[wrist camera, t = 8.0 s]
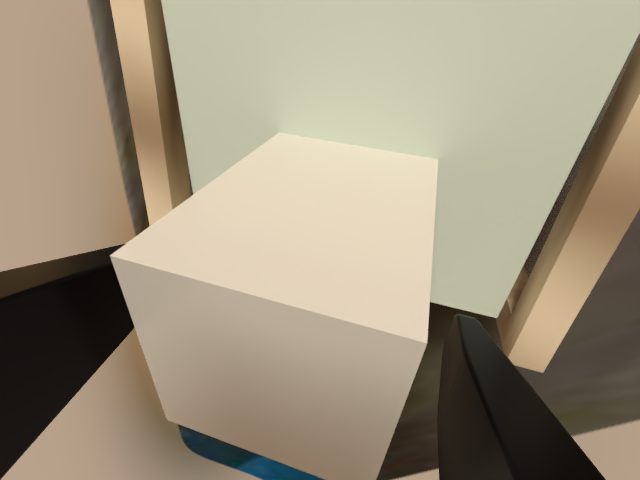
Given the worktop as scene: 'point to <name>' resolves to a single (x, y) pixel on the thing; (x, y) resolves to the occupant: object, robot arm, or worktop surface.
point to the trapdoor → (412, 103)
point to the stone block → (291, 301)
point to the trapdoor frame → (546, 277)
